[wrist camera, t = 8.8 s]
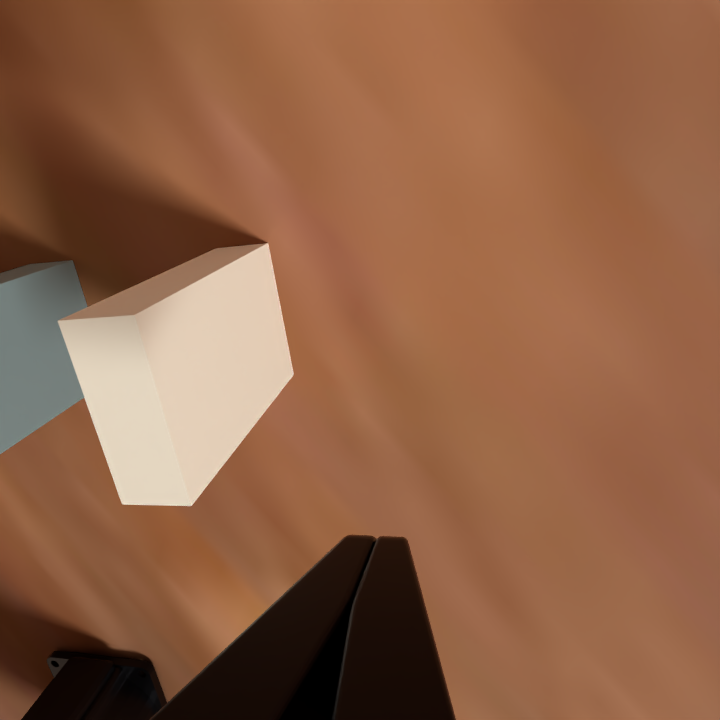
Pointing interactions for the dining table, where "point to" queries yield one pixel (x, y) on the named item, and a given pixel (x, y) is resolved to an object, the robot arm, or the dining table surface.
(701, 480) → the dining table surface
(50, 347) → the domino
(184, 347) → the domino
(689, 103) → the dining table surface
